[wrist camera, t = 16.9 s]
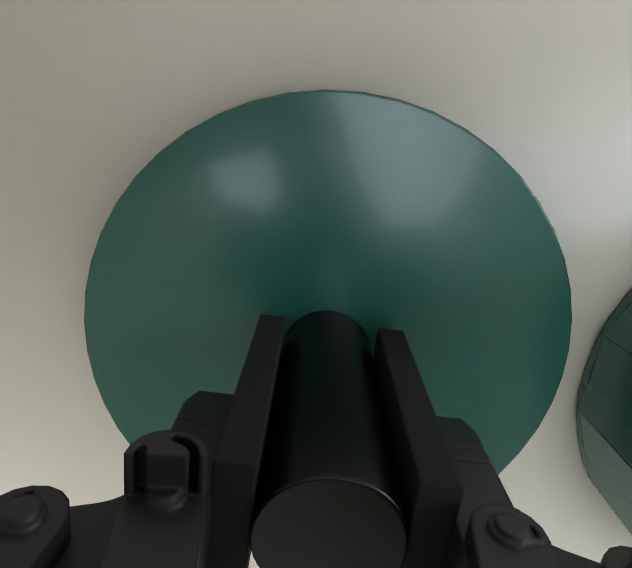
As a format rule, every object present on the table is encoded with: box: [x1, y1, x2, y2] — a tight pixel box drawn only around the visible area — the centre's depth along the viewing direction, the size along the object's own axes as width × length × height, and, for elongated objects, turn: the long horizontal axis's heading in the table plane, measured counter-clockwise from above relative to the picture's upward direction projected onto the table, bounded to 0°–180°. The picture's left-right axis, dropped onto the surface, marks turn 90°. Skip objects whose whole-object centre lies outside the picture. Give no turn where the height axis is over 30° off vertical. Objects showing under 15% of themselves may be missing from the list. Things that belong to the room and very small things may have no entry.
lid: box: [84, 90, 572, 568], centre depth 12 cm, size 16×16×9 cm
